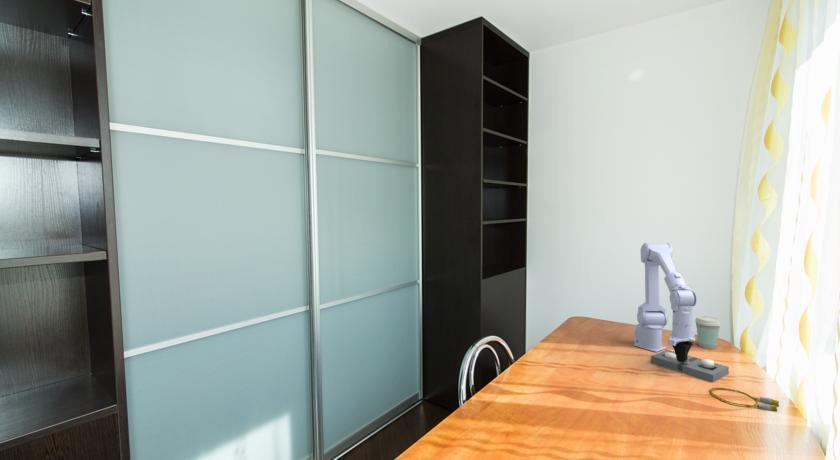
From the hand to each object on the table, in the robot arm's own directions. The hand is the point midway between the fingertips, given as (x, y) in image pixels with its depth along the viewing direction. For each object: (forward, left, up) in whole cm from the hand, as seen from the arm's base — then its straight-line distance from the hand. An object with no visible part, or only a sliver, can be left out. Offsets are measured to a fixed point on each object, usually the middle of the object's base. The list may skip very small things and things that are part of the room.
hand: (681, 361), depth 137 cm
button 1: (-6, +5, -2) cm, 8 cm away
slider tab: (0, +2, -1) cm, 2 cm away
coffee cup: (-6, +35, -4) cm, 36 cm away
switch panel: (0, +5, -4) cm, 6 cm away
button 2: (+6, +5, -1) cm, 8 cm away
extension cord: (+20, -7, -4) cm, 22 cm away
